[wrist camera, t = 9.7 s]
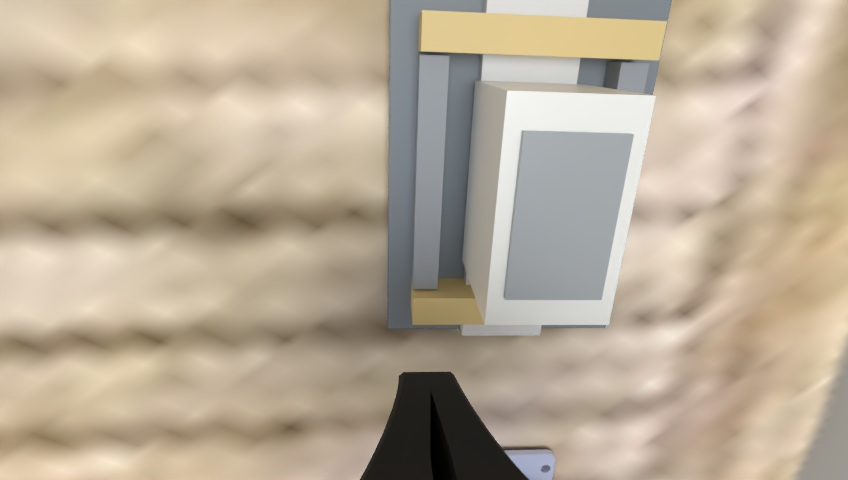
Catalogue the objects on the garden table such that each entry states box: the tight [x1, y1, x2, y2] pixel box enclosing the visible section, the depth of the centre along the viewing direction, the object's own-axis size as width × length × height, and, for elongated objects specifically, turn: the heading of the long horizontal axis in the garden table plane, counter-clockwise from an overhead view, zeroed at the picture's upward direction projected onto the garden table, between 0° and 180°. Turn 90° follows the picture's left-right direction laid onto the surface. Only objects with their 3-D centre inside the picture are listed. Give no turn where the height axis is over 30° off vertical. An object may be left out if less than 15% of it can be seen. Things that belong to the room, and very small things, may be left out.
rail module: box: [462, 80, 656, 325], centre depth 16 cm, size 7×4×5 cm, turn 178°
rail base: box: [388, 0, 672, 336], centre depth 18 cm, size 14×10×3 cm
